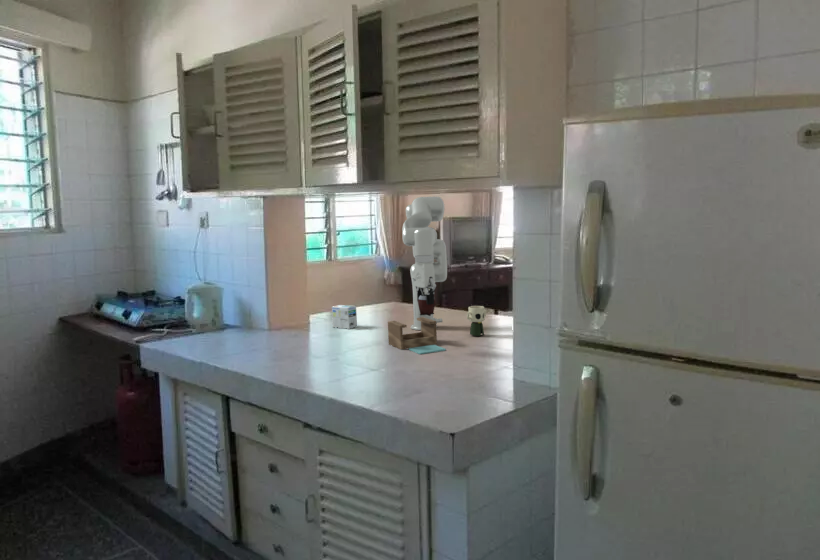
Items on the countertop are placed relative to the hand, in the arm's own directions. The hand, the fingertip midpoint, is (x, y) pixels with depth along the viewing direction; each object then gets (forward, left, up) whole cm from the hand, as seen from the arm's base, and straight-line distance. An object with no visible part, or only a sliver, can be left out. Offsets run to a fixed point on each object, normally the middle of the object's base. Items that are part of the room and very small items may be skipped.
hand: (425, 302), depth 259 cm
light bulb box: (+10, -67, -20) cm, 71 cm away
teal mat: (0, 0, -20) cm, 20 cm away
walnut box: (0, -13, -20) cm, 24 cm away
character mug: (-32, -12, -20) cm, 39 cm away
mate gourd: (0, 0, -5) cm, 5 cm away
